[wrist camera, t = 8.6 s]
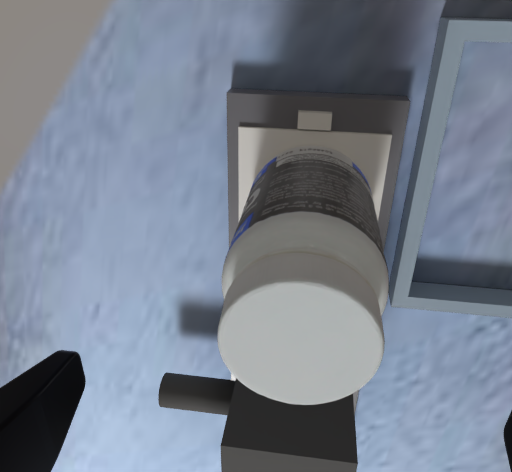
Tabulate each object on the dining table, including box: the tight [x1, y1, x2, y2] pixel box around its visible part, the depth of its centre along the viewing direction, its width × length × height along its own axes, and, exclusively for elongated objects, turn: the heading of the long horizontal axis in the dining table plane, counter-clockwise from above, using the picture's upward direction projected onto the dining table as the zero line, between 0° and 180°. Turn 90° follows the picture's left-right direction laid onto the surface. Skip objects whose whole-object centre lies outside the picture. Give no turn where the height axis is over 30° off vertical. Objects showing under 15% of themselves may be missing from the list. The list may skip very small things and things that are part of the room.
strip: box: [227, 89, 410, 415], centre depth 21 cm, size 6×18×1 cm, turn 179°
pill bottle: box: [218, 146, 389, 405], centre depth 14 cm, size 5×5×8 cm
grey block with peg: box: [159, 373, 358, 472], centre depth 21 cm, size 9×5×6 cm, turn 89°
